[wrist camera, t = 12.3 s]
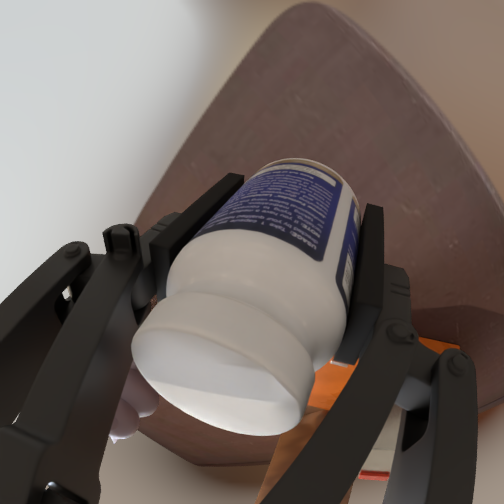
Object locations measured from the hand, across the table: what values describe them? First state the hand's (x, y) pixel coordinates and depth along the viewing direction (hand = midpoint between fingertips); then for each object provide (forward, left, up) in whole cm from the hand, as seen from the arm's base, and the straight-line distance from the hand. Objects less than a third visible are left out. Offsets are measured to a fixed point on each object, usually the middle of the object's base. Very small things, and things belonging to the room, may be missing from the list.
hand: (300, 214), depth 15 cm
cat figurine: (+18, +32, -6) cm, 37 cm away
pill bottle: (0, 0, 0) cm, 0 cm away
